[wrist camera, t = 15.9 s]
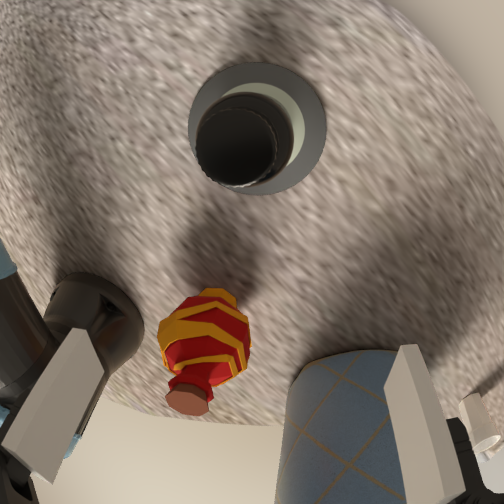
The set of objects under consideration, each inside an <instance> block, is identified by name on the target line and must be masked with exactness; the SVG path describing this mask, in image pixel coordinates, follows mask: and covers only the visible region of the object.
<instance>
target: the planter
mask: <svg viewBox="0 0 504 504" xmlns="http://www.w3.org/2000/svg"><path fill="white" fill-rule="evenodd" d="M397 354H398V351H391V350H358V351H351V352H346V353H341V354H337V355H333V356H329V357H325V358H322V359H318V360H315V361H313V362H310V363H308V364H307V365H306V366H304V368H303V369H302V371H301V372H300V374H299V376H298V377H297V378H296V380H295V381H294V383H293V384H292V386H291V387H290V389H289V392H288V396H287V401H286V411H285V422H284V432H283V440H282V448H281V456H280V463H279V470H278V478H277V486H276V494H275V503H274V504H407V501H406V494H405V488H404V482H403V476H402V471H401V465H400V460H399V455H398V450H397V445H396V440H395V435H394V430H393V426H392V421H391V417H390V413H389V408H388V404H387V400H386V396H385V392H384V385H385V383H386V381H387V378H388V376H389V374H390V371H391V369H392V366H393V364H394V361H395V359H396V356H397Z"/></svg>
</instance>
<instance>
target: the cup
mask: <svg viewBox="0 0 504 504" xmlns="http://www.w3.org/2000/svg"><path fill="white" fill-rule="evenodd" d="M458 407H459V409H460V413H461V417H462V421H463V424H464V426H465V427H466V429H467V432H468V435H469V438H470V439H469V441H471V444H472V447H473V448H472V450H474V454H477V453H480V452H482V451H484V450H486V449H488V448H490V447H491V446H493V445H494V444H495V443H496V442H498V440H499V439H500V437H501V435H500V433H499V431H498V428H497V426H496V424H495V423H493V422H492V419H491V417H490V415H489V413H488V411H487V408H486V406H485V404H484V402H483V400H482V398H481V395H480V394H479V393H474V394H470V395H469V396H467V397H466V398H464V399H462V401H461V402H460V404H459V405H458Z"/></svg>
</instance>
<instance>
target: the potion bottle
mask: <svg viewBox="0 0 504 504" xmlns="http://www.w3.org/2000/svg"><path fill="white" fill-rule="evenodd" d="M157 339H158V342H159V345H160V349H161V354H162V359H163V364H164V366H166V367H167V368H168V370H169V371H170V372H171V373H173V374H174V375H176V376H175V377H174V378H172V379H171V380H170V381H169V382H168V385H169V388H170V391H169V393H168V394H167V395H166V396H165V398H166V400H167V403H168V405H169V407H171V408H173V409H175V410H176V411H178V412H180V413H182V414H185V415H193V416H201V415H203V414H205V413H207V412H208V411H209V408H208V402H209V401H211V400H212V399H213V398H214V396H213V392H212V387H217V386H219V385H221V384H224V383H225V382H227V381H228V380H230V379H232V378H234V377H235V376H237V375H238V374H239V373H241V372H243V371H244V370H246V369H247V363H248V359H249V356H250V349H249V348H250V347H252V345H251V337H250V329H249V322H248V317H247V316H245V315H243V314H242V313H241V312H240V311H239V310H238V309H237V303H236V298H235V297H233V296H232V295H231V294H230V293H228V292H227V291H226V290H224V289H223V288H206V289H204V290H203V291H202V292H201V293H200V294H199V295H198V296H193V297H188V298H187V299H186V300H185V301H184V302H183V303H182V304H181V305H180V306H179V307H177V308H176V309H175V310H174V311H173V312H172V313H171V314H170V316H169V317H167V318H165V319H164V320H162V321H160V324H159V329H158V334H157ZM164 352H165V354H164ZM165 355H166V357H165ZM166 358H167V360H166ZM167 361H168V362H167Z"/></svg>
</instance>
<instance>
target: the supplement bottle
mask: <svg viewBox="0 0 504 504" xmlns="http://www.w3.org/2000/svg"><path fill="white" fill-rule="evenodd" d="M195 142H196V147H195V150H196V157H197V158H198V164H199V165H200V166H201V168H202V170H203V171H204V172H205V173H206V175H207V176H208V177H210V178H211V179H212V181H215V182H218V184H220V185H225V186H226V187H233V188H237V187H241V188H243V187H255V186H259V185H262V184H265V183H267V182H269V181H271V180H272V179H274V178H275V177H276V176H278V175H279V174H280V173H281V172H282V171H283V170H284V168H285V167H286V165H287V164H288V162H289V160H290V158H291V155H292V152H293V147H294V131H293V124H292V120H291V117H290V115H289V113H288V111H287V110H286V108H285V107H284V106H283V105H282V104H281V103H280V102H279V101H278V100H276V99H275V98H273V97H271V96H268V95H266V94H261V93H255V92H236V93H231V94H228V95H225V96H223V97H221V98H219V99H218V100H216V101H215V102H213V103H212V104H211V105H210V106H209V107H208V108H207V109H206V110H205V112H204V113H203V115H202V116H201V118H200V120H199V123H198V125H197V129H196V135H195Z"/></svg>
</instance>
